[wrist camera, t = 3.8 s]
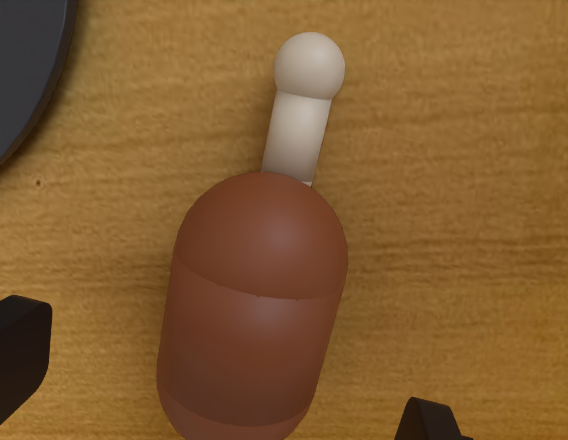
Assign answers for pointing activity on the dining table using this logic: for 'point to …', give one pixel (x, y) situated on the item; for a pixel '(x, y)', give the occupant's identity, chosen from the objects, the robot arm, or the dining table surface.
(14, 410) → the robot arm
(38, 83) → the lid
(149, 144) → the dining table surface
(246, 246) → the drumstick
